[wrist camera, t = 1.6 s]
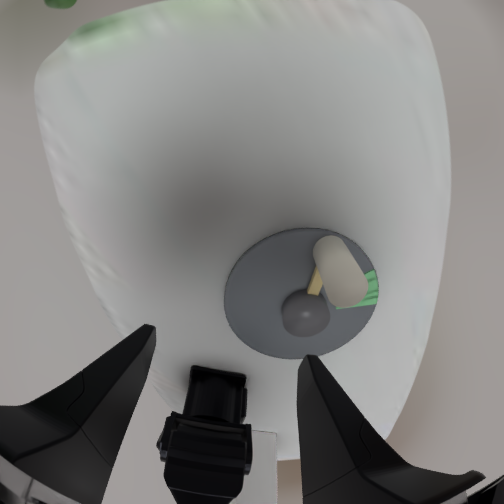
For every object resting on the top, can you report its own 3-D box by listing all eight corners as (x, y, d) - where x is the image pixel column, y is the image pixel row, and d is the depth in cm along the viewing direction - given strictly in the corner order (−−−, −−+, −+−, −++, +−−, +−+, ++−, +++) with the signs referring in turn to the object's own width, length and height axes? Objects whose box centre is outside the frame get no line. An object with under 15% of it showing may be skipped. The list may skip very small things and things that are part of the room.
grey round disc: (215, 340, 27) (214, 348, 26) (241, 210, 21) (240, 215, 20) (340, 357, 28) (342, 365, 27) (397, 248, 22) (403, 253, 21)
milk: (240, 428, 36) (232, 552, 16) (276, 432, 37) (278, 552, 17) (232, 441, 39) (223, 550, 19) (265, 445, 39) (263, 551, 19)
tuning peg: (317, 327, 24) (328, 376, 19) (276, 321, 24) (279, 372, 19) (355, 238, 20) (384, 277, 15) (308, 226, 20) (324, 265, 15)
